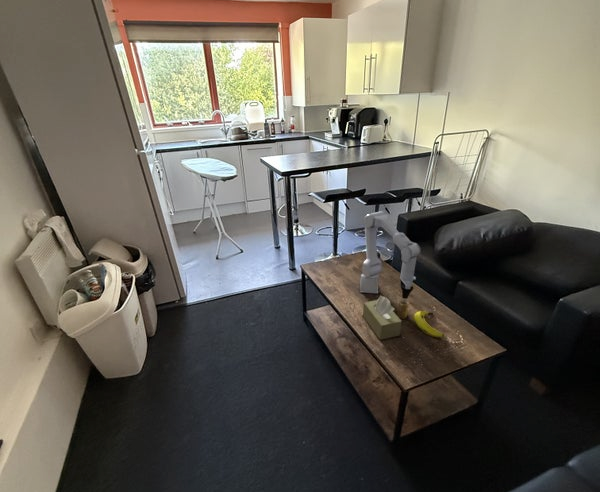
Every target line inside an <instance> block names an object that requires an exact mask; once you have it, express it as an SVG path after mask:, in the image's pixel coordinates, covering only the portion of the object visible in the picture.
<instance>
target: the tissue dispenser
mask: <svg viewBox="0 0 600 492" xmlns="http://www.w3.org/2000/svg"><path fill="white" fill-rule="evenodd" d="M362 308H363V309H362V317H363V318H364V319H365V321H366V322H367V324H368V325H369V327H370V329H372V330H373V332H374V333H375V335H376V336H377V337H378V339H379V340H385V339H390V338H396V337H399V336H401V330H402V324H403V321H402V319H401V318H399V317H398V316H397V313H395V312H394V311H395V308H394V307H393V306H392V305H391V301H390V300H389V299H388V298H387V297H386V296H383V295H379V297H378V299H375V300H374V299H373V300H370V301H366V302H363V307H362Z"/></svg>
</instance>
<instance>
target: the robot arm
mask: <svg viewBox="0 0 600 492" xmlns="http://www.w3.org/2000/svg"><path fill="white" fill-rule="evenodd" d="M363 221H364V236H365V250H366V251H365V252H366V259H365V260H364V261H363V263H362V268H361V272H362V274H360V283H359V287H360V288H359V289H360V291H359V292H360V293H365V294H366V293H367V294H379V276H380V275H381V273H383V270H384V269H383V265H382V261H381V259H379V258H378V245H377V244H378V243H377V229H378V228H382V229H383V230H385V231H386V232H387V233H388V234H389V235H390V236H391V237H392V242H393V243H394V244H395V246H397V247H398V249H399V250H400V255H401V260H402V262H401V268H400V269H401V270H400V274H399V275H398V278H399V281H400V290H401V296H402V299H403V300H407V299H408V298H409V297H410V296H409V295H410V294H411V293H412V292H413V290H414V286H413V285H412V283H413V281H416V280H417V279H416V278H417V277H416V276H414V275H415V270H416V269H415V268H416V264H417V258H418V256H420V254H421V251H422V250H421V246H420V245H419V244H418V243H416V242H414V241H411V240H410V239H409V237H408V236H406V234H405V233H404V232H399V231H398V230H397V229H398V228H396V227H395V225H394V224H393V223H392V221H391V220H390V216H389V214H387V212H386V211H385V210H380V211H376V212H372V213H367V214H366V215H365V216H364V217H363Z"/></svg>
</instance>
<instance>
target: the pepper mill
mask: <svg viewBox="0 0 600 492" xmlns="http://www.w3.org/2000/svg"><path fill="white" fill-rule="evenodd" d="M409 305H410V304H409V301H408V300H407V299H401V300H399V301H398V304H397V312H396V315H397V316H398V318H399V319H401V320H402V319H406V318H407V317H408V310H409Z"/></svg>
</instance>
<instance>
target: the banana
mask: <svg viewBox="0 0 600 492" xmlns="http://www.w3.org/2000/svg"><path fill="white" fill-rule="evenodd" d="M433 315H434V312H427V311H426V310H419V311H417V312H416V313H415V314H414V316H413V319H414V322H415V324H416V325H417V327H418V328H419V330H420V331H421V332H422V333H424V334H425V335H428V336H430V337H432V338H438V339H439V338H443V337H445V334H444V333H442V332H440V331H439V330H437V329H435V328H434V327H432V325H430V324H429V323H428V322H427V320H426V319H425V316H433Z"/></svg>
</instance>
